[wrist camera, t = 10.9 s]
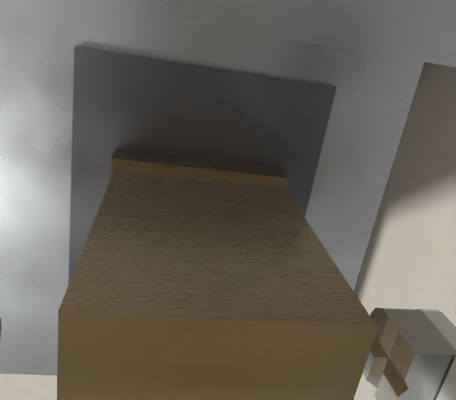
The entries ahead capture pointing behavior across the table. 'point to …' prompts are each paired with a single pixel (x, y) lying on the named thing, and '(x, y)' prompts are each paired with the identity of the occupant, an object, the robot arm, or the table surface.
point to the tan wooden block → (206, 292)
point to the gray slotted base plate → (194, 120)
